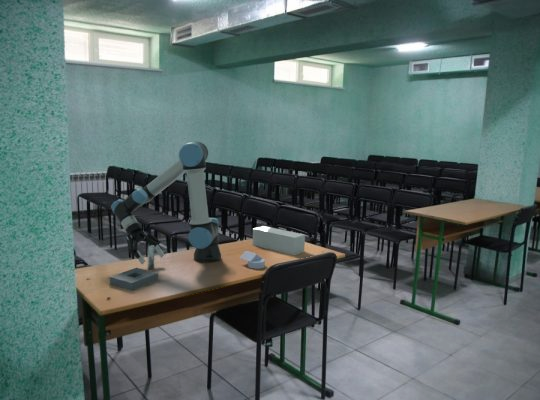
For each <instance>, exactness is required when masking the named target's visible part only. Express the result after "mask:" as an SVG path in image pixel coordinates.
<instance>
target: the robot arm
mask: <svg viewBox="0 0 540 400" xmlns="http://www.w3.org/2000/svg"><path fill="white" fill-rule="evenodd" d="M208 156H209V149H208V147H207V146H206V144H205V143H203V142H201V141H192V142H191V141H190V142H186V143H185V144H183V145H182V146H181V147H180V148H179V152H178V158H179V159H178V160H176V161H175V162H174V163H173V164H171V165H170V166H169V167H168V168H167V169H165V170H164V171H163V172H161V173H160V174H159V175H158V176H157V177H156V178H154V179H153V180H152V181H150V182H149V183H148V184H146V185H145V186H144V187H143V188H140V187H139V188H136V189H135V190H134V191H133V192H131V194H129V195H128V196H127V197H126V198H125V199H117V200H115V201H114V202H113V203H112V204H111V206H110V208H111V210H112V212H113V215H114V216H115V217H116V218H117V220H118V221H119V222H120V224H121V226H122V228H123V229H124V230H125V232H126V233H127V235H126V237H125V240H126V242H127V249H128V254H130V255H134V256H135V258H136V259H137V260H138V262H139V263H140V264H141V265H144V264H145V262H146V259H145V258H144V256H143V255H142V253H141V252H140V251H139V250H138V243H140V242H146V243H148V245H154V251H156V253H157V254H158V256H159V257H160V259H161V258H163V257H164V256H165V253H164V252H163V248H162V247H161V246H160V244H161V240H159V239H158V238H157V237H155V236H154V235H153V234H152V233H150V232H149V230H148V229H146V230H145V231H143V229H142V226H141V225H140V223H139V222H138V220H137V218H136V217H135V215H134V214H133V213H134V212H135V211H136V210H137V209H138V208H140V207H141V206H143V205H144V204H147V203H149V202H151V201H153V199H155V197H156V196H157V195H159V194H160V193H161V192H163V191H164V190H165V189H166V188H167V187H169V186H170V185H172V184H173V183H175V181H177V180H178V179H179V178H181V177H182V176H183V175H184V174H185V173H186V180H187V189H188V197H189V205H190V207H189V208H190V215H191V219H190V221H189V233H188V241H189V244H191V246H193V247H194V248H195V250H194V253H193V260H194V261H196V262H200V263H214V262H219V261H220V260H222V253H221V251H220V246H219V231H220V229H219V228H220V227H219V226H220V223H219V219H218V218H216V217H209V209H208V199H207V193H206V183H205V174H204V173H205V172H204V171H205V170H206V169H207V164H206V161H207V159H208Z"/></svg>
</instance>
